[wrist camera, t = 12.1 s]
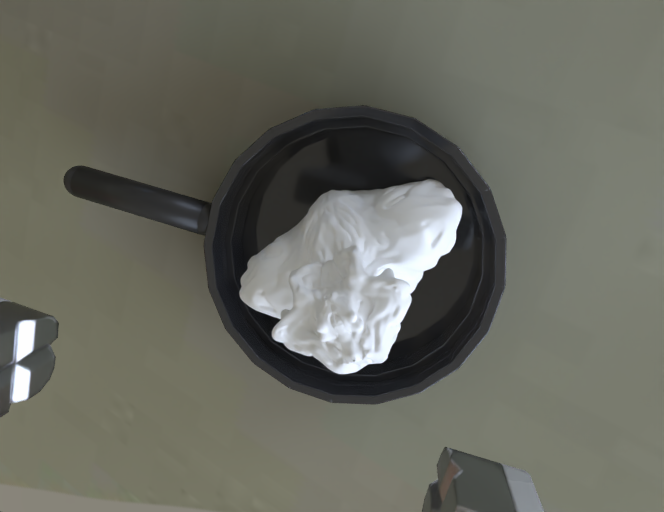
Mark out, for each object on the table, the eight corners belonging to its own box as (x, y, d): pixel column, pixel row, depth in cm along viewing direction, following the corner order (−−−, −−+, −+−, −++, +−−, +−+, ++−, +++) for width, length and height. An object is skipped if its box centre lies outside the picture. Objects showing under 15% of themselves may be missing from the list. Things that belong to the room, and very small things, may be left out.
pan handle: (77, 191, 27) (54, 194, 25) (81, 161, 26) (57, 161, 25) (224, 236, 26) (210, 241, 24) (230, 205, 25) (216, 209, 24)
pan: (212, 328, 30) (182, 352, 26) (263, 85, 26) (236, 72, 22) (443, 404, 28) (448, 442, 24) (532, 155, 24) (555, 153, 20)
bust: (280, 278, 30) (287, 450, 22) (209, 200, 25) (186, 389, 17) (454, 205, 27) (534, 373, 19) (415, 99, 22) (503, 270, 14)
